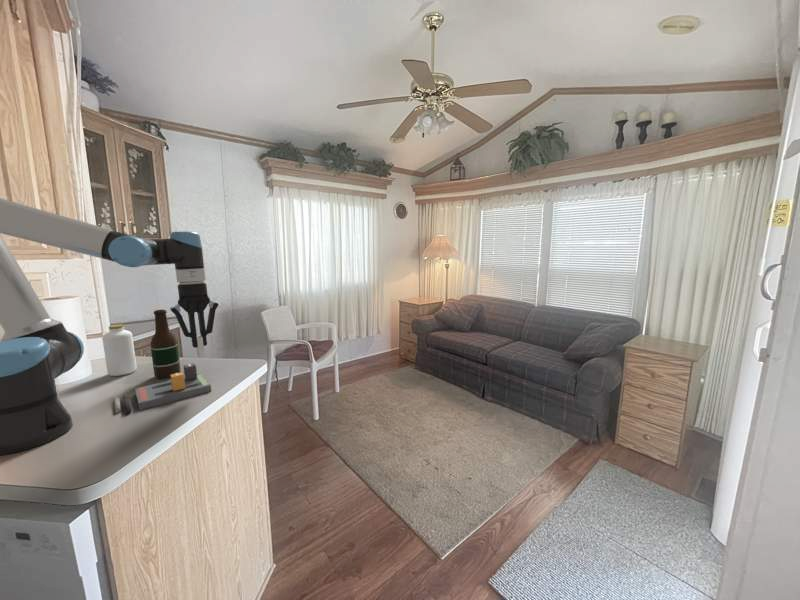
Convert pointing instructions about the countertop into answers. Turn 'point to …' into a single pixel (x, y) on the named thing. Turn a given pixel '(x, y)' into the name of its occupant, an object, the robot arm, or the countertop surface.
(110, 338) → the white plastic bottle
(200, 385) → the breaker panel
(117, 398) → the cord grey near
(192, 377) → the block
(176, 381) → the block
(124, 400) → the cord black near
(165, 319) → the beer bottle
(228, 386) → the countertop surface
